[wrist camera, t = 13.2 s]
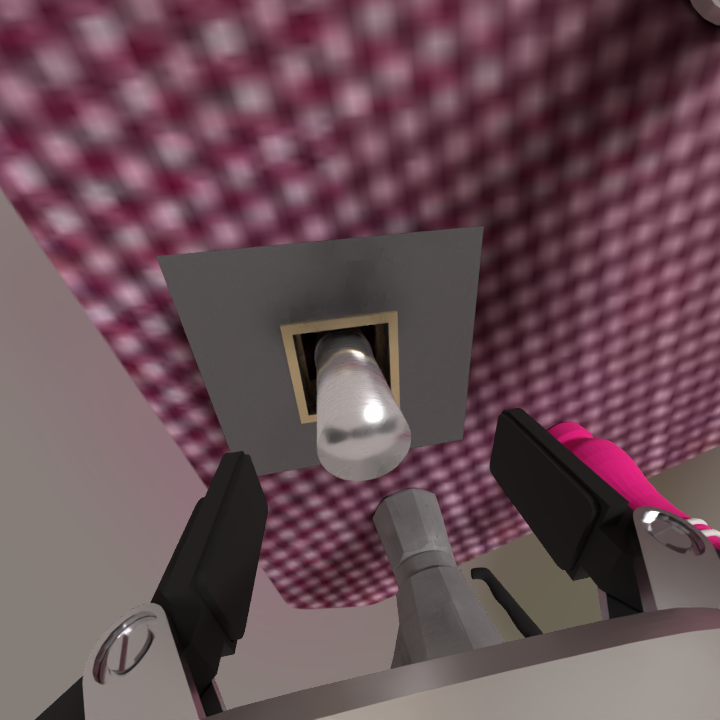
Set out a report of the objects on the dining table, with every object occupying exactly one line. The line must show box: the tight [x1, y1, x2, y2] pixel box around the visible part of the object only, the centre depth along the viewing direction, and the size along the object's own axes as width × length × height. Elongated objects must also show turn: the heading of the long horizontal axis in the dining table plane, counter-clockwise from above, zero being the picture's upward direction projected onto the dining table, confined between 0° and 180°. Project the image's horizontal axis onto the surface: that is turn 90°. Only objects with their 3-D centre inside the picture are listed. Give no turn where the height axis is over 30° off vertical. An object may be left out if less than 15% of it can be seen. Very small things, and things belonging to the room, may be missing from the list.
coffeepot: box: [373, 488, 543, 669], centre depth 27 cm, size 15×9×18 cm, turn 87°
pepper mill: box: [547, 422, 720, 550], centre depth 25 cm, size 7×7×20 cm
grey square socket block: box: [156, 226, 484, 476], centre depth 21 cm, size 18×16×7 cm
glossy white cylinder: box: [314, 326, 411, 481], centre depth 17 cm, size 4×4×14 cm
